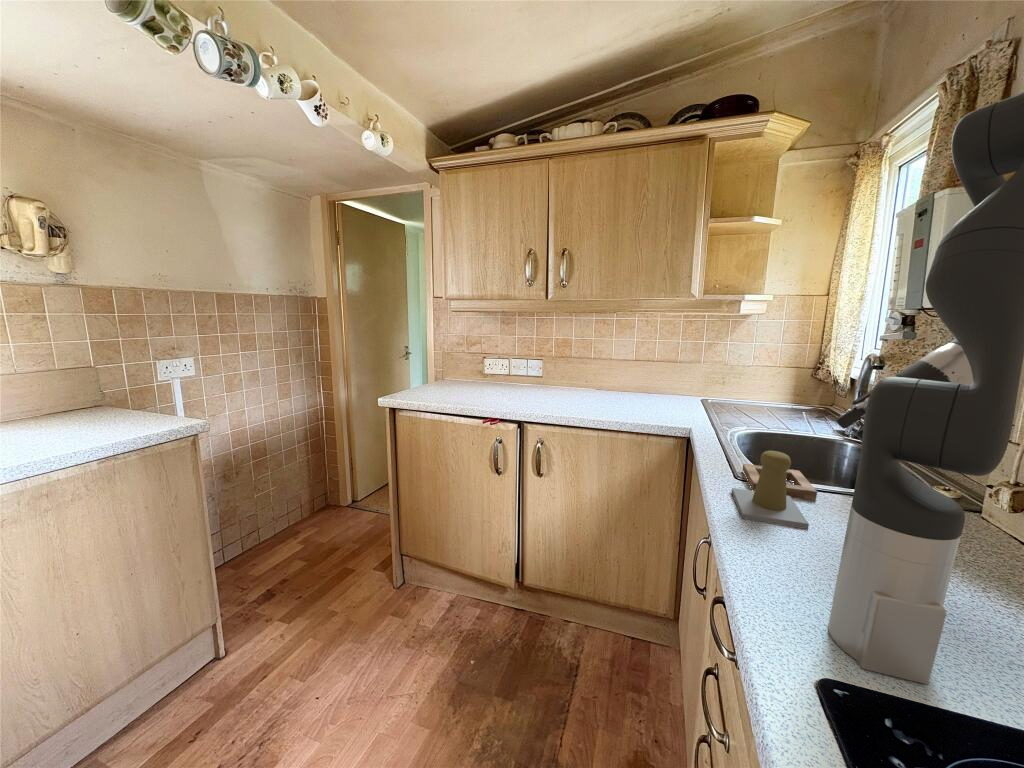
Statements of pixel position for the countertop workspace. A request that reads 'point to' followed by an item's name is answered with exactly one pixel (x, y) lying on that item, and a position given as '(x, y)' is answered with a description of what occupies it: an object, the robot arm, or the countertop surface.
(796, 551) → the countertop surface
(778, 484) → the cork
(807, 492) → the walnut socket
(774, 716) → the countertop surface
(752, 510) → the slate pad
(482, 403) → the countertop surface
